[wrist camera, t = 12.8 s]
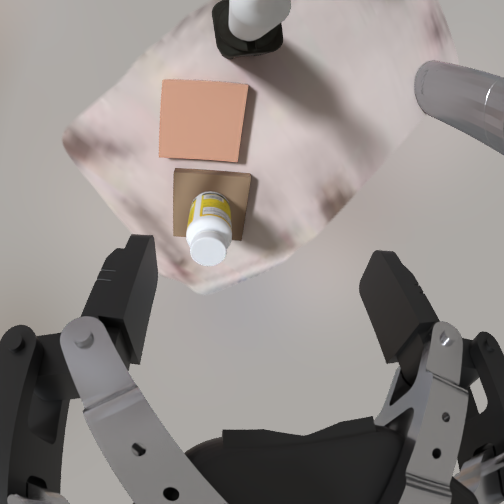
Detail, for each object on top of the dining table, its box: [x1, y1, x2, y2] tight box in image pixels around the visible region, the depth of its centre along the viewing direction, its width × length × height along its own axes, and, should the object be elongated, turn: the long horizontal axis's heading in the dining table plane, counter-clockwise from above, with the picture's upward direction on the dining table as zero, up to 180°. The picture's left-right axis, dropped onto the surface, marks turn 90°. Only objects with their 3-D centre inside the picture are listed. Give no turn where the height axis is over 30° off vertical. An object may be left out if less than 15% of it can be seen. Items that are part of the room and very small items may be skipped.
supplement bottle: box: [186, 191, 232, 266], centre depth 35 cm, size 5×5×10 cm
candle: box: [212, 0, 291, 59], centre depth 16 cm, size 5×5×25 cm
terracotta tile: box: [159, 79, 248, 162], centre depth 32 cm, size 10×10×2 cm
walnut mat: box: [173, 168, 251, 241], centre depth 39 cm, size 10×10×2 cm
